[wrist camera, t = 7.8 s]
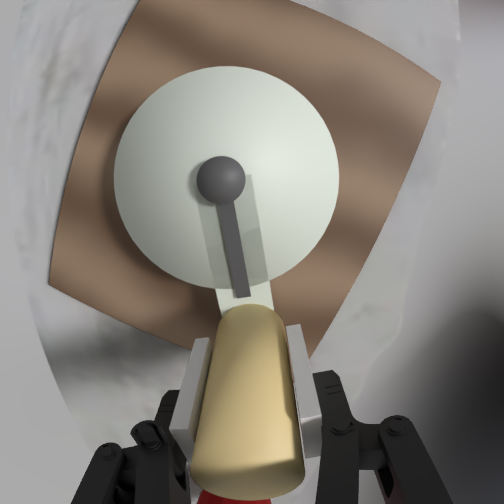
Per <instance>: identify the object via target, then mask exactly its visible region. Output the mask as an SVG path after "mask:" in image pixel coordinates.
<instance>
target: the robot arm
mask: <svg viewBox="0 0 504 504" xmlns="http://www.w3.org/2000/svg"><path fill="white" fill-rule="evenodd" d="M286 331H287V337H288V344H289V351H290V357H291V364H292V371H293V377H294V384H295V390H296V397H297V404H298V410H299V417H300V424H301V431H302V438H303V445H304V452H305V458H311V457H317V456H321V459H320V468H319V478H318V486H317V494H316V502H315V504H358V491H359V490H358V489H359V470H374V472H375V475H376V477H377V480H378V483H379V486H380V489H381V492H382V495H383V497H384V501H385V504H453V502H452V500H451V498H450V496H449V494H448V492H447V490H446V488H445V486H444V484H443V482H442V480H441V478H440V476H439V474H438V472H437V470H436V468H435V466H434V464H433V462H432V460H431V458H430V456H429V454H428V452H427V450H426V448H425V446H424V444H423V442H422V440H421V439H420V437H419V435H418V433H417V431H416V429H415V427H414V425H413V424H412V422H411V421H410V420H409V419H408V418H406V417H404V416H399V415H395V416H390V417H388V418H386V419H384V420H383V421H382V422H381V423H380V424H364V423H361V422H359V421H357V420H356V419H355V418H354V417H353V416H352V414H351V411H350V408H349V405H348V402H347V399H346V396H345V393H344V390H343V387H342V384H341V381H340V378H339V376H338V375H337V374H336V373H335V372H334V371H333V370H329V371H324V372H319V373H313V374H312V371H311V367H310V362H309V358H308V354H307V350H306V346H305V342H304V337H303V333H302V329H301V325H300V324H296V325H291V326H286ZM212 354H213V349H212V346H211V343H210V339H209V337H206V338H198V339H195V342H194V345H193V348H192V352H191V355H190V358H189V362H188V365H187V368H186V372H185V375H184V379H183V382H182V385H181V389H180V390H168V392H167V393H166V394H165V395H164V396H163V397H162V400H161V403H160V407H159V408H158V413H157V414H156V417H155V420H154V421H152V420H146V421H142V422H140V423H138V424H136V425H135V426H134V427H133V428H132V430H131V433H130V434H131V435H132V437H133V438H134V440H135V441H136V443H137V444H138V445H137V446H133V447H128V448H123V449H122V448H121V447H120V446H119V445H118V444H116V443H106V444H103V445H101V446H100V447H98V449H97V450H96V452H95V454H94V456H93V458H92V460H91V462H90V464H89V466H88V468H87V470H86V472H85V474H84V476H83V479H82V481H81V483H80V485H79V487H78V489H77V491H76V494H75V496H74V498H73V500H72V502H71V504H191V498H190V488H189V476H188V472H187V470H186V469H185V466H186V461H187V462H188V464H189V465H190V467H191V461H192V456H193V451H194V446H195V440H196V435H197V430H198V425H199V419H200V414H201V409H202V404H203V399H204V394H205V389H206V384H207V379H208V374H209V369H210V364H211V359H212Z"/></svg>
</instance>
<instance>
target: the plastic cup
mask: <svg viewBox="0 0 504 504" xmlns="http://www.w3.org/2000/svg"><path fill="white" fill-rule="evenodd" d="M197 504H271V501H270V499H264V500H251V501H249V500H235V499H229V498H224V497H221V496H217V495H215V494H212V493H210V492H208V491H206V490H204V489H203V491H202V492H201V493H200V496H199V499H198V502H197Z"/></svg>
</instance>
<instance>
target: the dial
mask: <svg viewBox="0 0 504 504" xmlns="http://www.w3.org/2000/svg"><path fill="white" fill-rule="evenodd" d="M338 188H339V167H338V159H337V154H336V149H335V146H334V143H333V140H332V137H331V135H330V132H329V130H328V128H327V126H326V124H325V123H324V121H323V119H322V118H321V116H320V115H319V113H318V112H317V111H316V109H315V108H314V107H313V105H312V104H311V103H310V102H309V101H308V100H307V99H306V98H305V97H304V96H303V95H302V94H301V93H299V92H298V91H297V90H296V89H294V88H293V87H292V86H290V85H289V84H287V83H285V82H284V81H282V80H280V79H278V78H276V77H274V76H272V75H269V74H267V73H264V72H261V71H257V70H254V69H250V68H244V67H236V66H217V67H210V68H204V69H200V70H196V71H193V72H189V73H187V74H184V75H182V76H180V77H177V78H175V79H173V80H172V81H170V82H168V83H167V84H165V85H163V86H162V87H160V88H159V89H158V90H157V91H155V92H154V93H153V94H152V95H151V96H149V97H148V98H147V99H146V101H145V102H144V103H143V104H142V105H141V106H140V107H139V108H138V110H137V111H136V112H135V114H134V115H133V117H132V118H131V119H130V121H129V123H128V125H127V127H126V129H125V131H124V133H123V135H122V138H121V140H120V143H119V146H118V150H117V154H116V158H115V166H114V190H115V197H116V203H117V206H118V210H119V213H120V216H121V218H122V221H123V223H124V225H125V228H126V229H127V231H128V233H129V235H130V236H131V238H132V240H133V241H134V242H135V244H136V245H137V246H138V247H139V249H140V250H141V251H142V252H143V253H144V254H145V255H146V256H147V257H148V258H149V259H150V260H151V261H152V262H153V263H154V264H156V265H157V266H158V267H160V268H161V269H162V270H164V271H165V272H167V273H169V274H171V275H172V276H174V277H176V278H178V279H181V280H183V281H185V282H188V283H191V284H194V285H198V286H202V287H208V288H214V289H215V290H216V294H217V298H218V303H219V307H220V311H221V315H222V319H221V320H220V322H219V326H218V330H217V335H216V340H215V344H214V349H213V354H212V359H211V364H210V369H209V374H208V379H207V384H206V389H205V394H204V399H203V404H202V409H201V414H200V419H199V425H198V430H197V435H196V440H195V446H194V451H193V456H192V461H191V467H190V474H191V477H192V479H193V480H194V482H195V483H196V484H197V485H198V486H200V487H201V488H202V489H204V490H206V491H208V492H210V493H212V494H215V495H217V496H221V497H224V498H229V499H235V500H249V501H251V500H264V499H270V498H275V497H278V496H281V495H284V494H286V493H288V492H290V491H292V490H294V489H295V488H297V487H298V486H299V485H300V484H301V483H302V481H303V480H304V477H305V467H304V459H303V452H302V444H301V437H300V429H299V422H298V415H297V407H296V400H295V393H294V386H293V379H292V372H291V366H290V359H289V352H288V345H287V339H286V332H285V327H284V323H283V321H282V319H281V318H280V316H279V315H278V314H277V313H276V312H275V311H274V306H273V300H272V294H271V287H270V280H272V279H274V278H276V277H278V276H280V275H282V274H284V273H285V272H287V271H288V270H290V269H291V268H293V267H294V266H296V265H297V264H298V263H299V262H300V261H301V260H303V259H304V258H305V257H306V256H307V255H308V254H309V253H310V251H311V250H312V249H313V248H314V247H315V246H316V244H317V243H318V241H319V240H320V239H321V237H322V236H323V234H324V232H325V230H326V228H327V226H328V224H329V222H330V220H331V217H332V215H333V212H334V209H335V205H336V200H337V196H338Z"/></svg>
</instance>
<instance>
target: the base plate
mask: <svg viewBox="0 0 504 504" xmlns="http://www.w3.org/2000/svg"><path fill="white" fill-rule="evenodd" d="M217 66H236V67H244V68H250V69H254V70H257V71H261V72H264V73H267V74H269V75H272V76H274V77H276V78H278V79H280V80H282V81H284V82H285V83H287V84H289V85H290V86H292V87H293V88H294V89H296V90H297V91H298V92H299V93H301V94H302V95H303V96H304V97H305V98H306V99H307V100H308V101H309V102H310V103H311V104H312V105H313V107H314V108H315V109H316V111H317V112H318V113H319V115H320V116H321V118H322V119H323V121H324V123H325V124H326V126H327V128H328V130H329V132H330V135H331V137H332V140H333V143H334V146H335V149H336V154H337V159H338V167H339V188H338V196H337V200H336V205H335V209H334V212H333V215H332V217H331V220H330V222H329V224H328V226H327V228H326V230H325V232H324V234H323V236H322V237H321V239H320V240H319V241H318V243H317V244H316V246H315V247H314V248H313V249H312V250H311V251H310V253H309V254H308V255H307V256H306V257H305V258H304V259H303V260H301V261H300V262H299V263H298V264H297V265H296V266H294V267H293V268H291V269H290V270H288V271H287V272H285V273H284V274H282V275H280V276H278V277H276V278H274V279H272V280H270V287H271V294H272V300H273V306H274V311H275V312H276V313H277V314H278V315H279V316H280V318H281V319H282V321H283V323H284V327H285V332H286V339H287V345H288V352H289V359H290V366H291V372H292V379H293V383H294V377H293V371H292V364H291V357H290V351H289V344H288V337H287V331H286V326H291V325H296V324H300V325H301V329H302V333H303V337H304V342H305V346H306V350H307V354H308V358H309V359H310V357H311V355H312V354H313V352H314V351H315V349H316V347H317V346H318V344H319V343H320V341H321V339H322V338H323V336H324V334H325V333H326V331H327V329H328V328H329V326H330V324H331V323H332V321H333V319H334V318H335V316H336V314H337V312H338V311H339V309H340V307H341V305H342V304H343V302H344V300H345V298H346V297H347V295H348V293H349V291H350V289H351V288H352V286H353V284H354V282H355V280H356V278H357V277H358V275H359V273H360V271H361V269H362V267H363V265H364V263H365V261H366V259H367V258H368V256H369V254H370V252H371V250H372V248H373V246H374V244H375V242H376V240H377V238H378V236H379V234H380V232H381V230H382V228H383V225H384V223H385V221H386V219H387V217H388V215H389V213H390V211H391V209H392V206H393V204H394V202H395V200H396V198H397V195H398V193H399V191H400V189H401V186H402V184H403V182H404V179H405V177H406V175H407V172H408V170H409V168H410V165H411V163H412V160H413V158H414V156H415V153H416V151H417V148H418V146H419V143H420V140H421V138H422V135H423V133H424V130H425V127H426V125H427V122H428V119H429V116H430V114H431V111H432V108H433V105H434V102H435V99H436V96H437V93H438V90H439V87H440V84H441V81H439V80H438V79H437V78H435V77H434V76H432V75H431V74H429V73H428V72H427V71H425V70H424V69H422V68H421V67H419V66H418V65H416V64H415V63H413V62H412V61H410V60H409V59H407V58H405V57H404V56H402V55H401V54H399V53H397V52H396V51H394V50H392V49H391V48H389V47H387V46H386V45H384V44H382V43H380V42H379V41H377V40H375V39H373V38H371V37H370V36H368V35H366V34H364V33H362V32H360V31H358V30H356V29H354V28H352V27H350V26H348V25H346V24H344V23H342V22H340V21H338V20H336V19H333V18H331V17H329V16H327V15H325V14H322V13H320V12H318V11H315V10H313V9H310V8H308V7H305V6H303V5H300V4H298V3H295V2H292V1H290V0H140V2H139V3H138V5H137V7H136V9H135V10H134V12H133V14H132V16H131V18H130V19H129V21H128V23H127V25H126V27H125V29H124V31H123V33H122V35H121V37H120V39H119V41H118V43H117V45H116V47H115V49H114V51H113V53H112V55H111V57H110V60H109V62H108V64H107V66H106V68H105V71H104V73H103V75H102V78H101V80H100V83H99V85H98V87H97V90H96V92H95V95H94V98H93V100H92V103H91V105H90V108H89V111H88V114H87V117H86V119H85V122H84V125H83V128H82V131H81V134H80V137H79V141H78V144H77V147H76V150H75V154H74V157H73V161H72V164H71V168H70V172H69V175H68V179H67V183H66V187H65V192H64V196H63V200H62V205H61V210H60V215H59V220H58V225H57V230H56V236H55V242H54V248H53V255H52V262H51V270H50V279H49V285H50V286H52V287H54V288H56V289H58V290H59V291H61V292H63V293H65V294H67V295H69V296H71V297H73V298H75V299H77V300H79V301H81V302H83V303H85V304H87V305H89V306H91V307H93V308H95V309H97V310H99V311H101V312H103V313H105V314H107V315H109V316H111V317H113V318H116V319H118V320H120V321H122V322H124V323H127V324H129V325H131V326H133V327H136V328H138V329H140V330H142V331H145V332H147V333H149V334H152V335H154V336H157V337H159V338H161V339H164V340H166V341H169V342H171V343H174V344H176V345H179V346H181V347H184V348H186V349H189V350H192V348H193V345H194V342H195V339H198V338H206V337H209V339H210V343H211V346H212V349H214V344H215V340H216V335H217V330H218V326H219V322H220V320H221V319H222V315H221V311H220V307H219V303H218V298H217V294H216V290H215V289H214V288H208V287H202V286H198V285H194V284H191V283H188V282H185V281H183V280H181V279H178V278H176V277H174V276H172V275H171V274H169V273H167V272H165V271H164V270H162V269H161V268H160V267H158V266H157V265H156V264H154V263H153V262H152V261H151V260H150V259H149V258H148V257H147V256H146V255H145V254H144V253H143V252H142V251H141V250H140V249H139V247H138V246H137V245H136V244H135V242H134V241H133V240H132V238H131V236H130V235H129V233H128V231H127V229H126V228H125V225H124V223H123V221H122V218H121V216H120V213H119V210H118V206H117V203H116V197H115V190H114V166H115V158H116V154H117V150H118V146H119V143H120V140H121V138H122V135H123V133H124V131H125V129H126V127H127V125H128V123H129V121H130V119H131V118H132V117H133V115H134V114H135V112H136V111H137V110H138V108H139V107H140V106H141V105H142V104H143V103H144V102H145V101H146V99H147V98H148V97H149V96H151V95H152V94H153V93H154V92H155V91H157V90H158V89H159V88H160V87H162V86H163V85H165V84H167V83H168V82H170V81H172V80H173V79H175V78H177V77H180V76H182V75H184V74H187V73H189V72H193V71H196V70H200V69H204V68H210V67H217Z"/></svg>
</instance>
